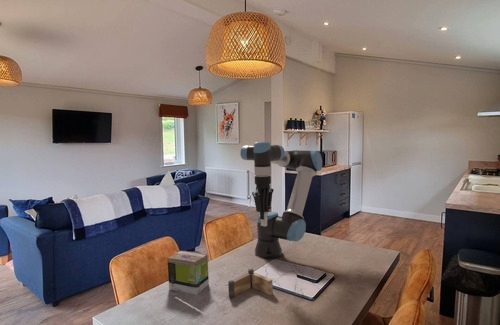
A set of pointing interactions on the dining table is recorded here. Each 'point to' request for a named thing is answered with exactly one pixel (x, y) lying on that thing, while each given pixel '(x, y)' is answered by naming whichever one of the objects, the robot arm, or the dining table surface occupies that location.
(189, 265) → the tea box
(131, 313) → the dining table surface
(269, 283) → the swing panel
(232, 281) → the fixed fence panel
